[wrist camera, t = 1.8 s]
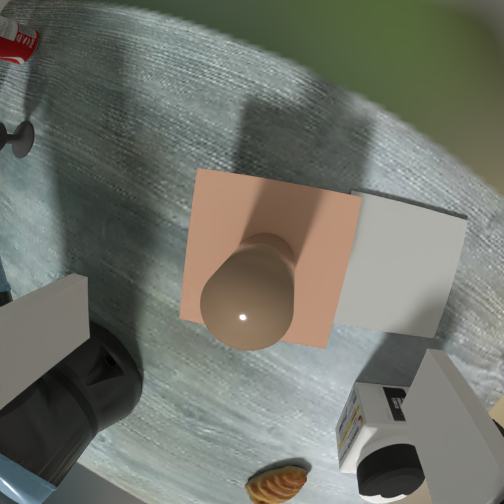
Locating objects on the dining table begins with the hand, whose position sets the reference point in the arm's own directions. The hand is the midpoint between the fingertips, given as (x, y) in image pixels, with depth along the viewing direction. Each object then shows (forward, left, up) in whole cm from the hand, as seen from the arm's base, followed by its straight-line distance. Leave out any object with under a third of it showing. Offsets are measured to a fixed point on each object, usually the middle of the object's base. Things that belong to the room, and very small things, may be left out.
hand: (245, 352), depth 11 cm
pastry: (+7, -34, -20) cm, 40 cm away
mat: (+12, 0, -20) cm, 23 cm away
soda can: (-39, +22, -20) cm, 49 cm away
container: (+15, -17, -20) cm, 31 cm away
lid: (-1, 0, -14) cm, 14 cm away
